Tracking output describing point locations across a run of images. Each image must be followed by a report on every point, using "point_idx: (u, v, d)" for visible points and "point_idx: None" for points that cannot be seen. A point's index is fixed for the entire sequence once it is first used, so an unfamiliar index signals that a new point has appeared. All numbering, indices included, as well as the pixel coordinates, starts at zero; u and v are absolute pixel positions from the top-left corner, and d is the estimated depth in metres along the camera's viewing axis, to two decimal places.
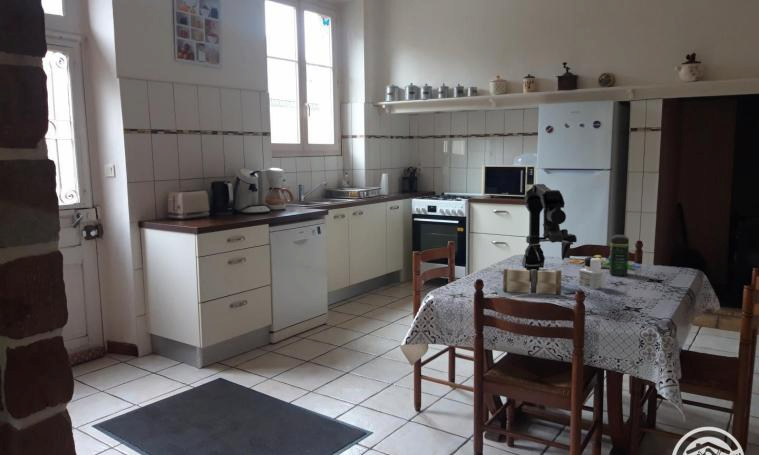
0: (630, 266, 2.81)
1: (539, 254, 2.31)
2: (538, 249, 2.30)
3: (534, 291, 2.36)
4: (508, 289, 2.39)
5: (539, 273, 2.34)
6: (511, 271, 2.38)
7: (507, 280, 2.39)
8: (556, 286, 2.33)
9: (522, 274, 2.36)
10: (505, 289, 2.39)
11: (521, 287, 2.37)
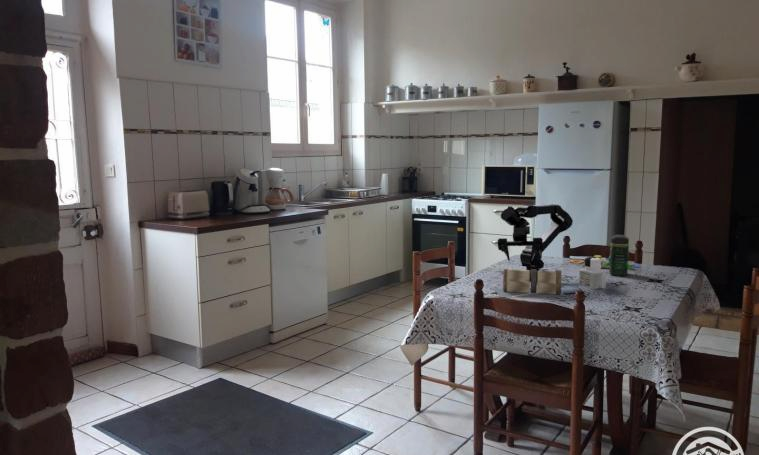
0: (630, 266, 2.81)
1: (507, 254, 2.46)
2: (506, 249, 2.47)
3: (534, 291, 2.36)
4: (508, 289, 2.39)
5: (539, 273, 2.34)
6: (511, 271, 2.38)
7: (507, 280, 2.39)
8: (556, 286, 2.33)
9: (522, 274, 2.36)
10: (505, 289, 2.39)
11: (521, 287, 2.37)
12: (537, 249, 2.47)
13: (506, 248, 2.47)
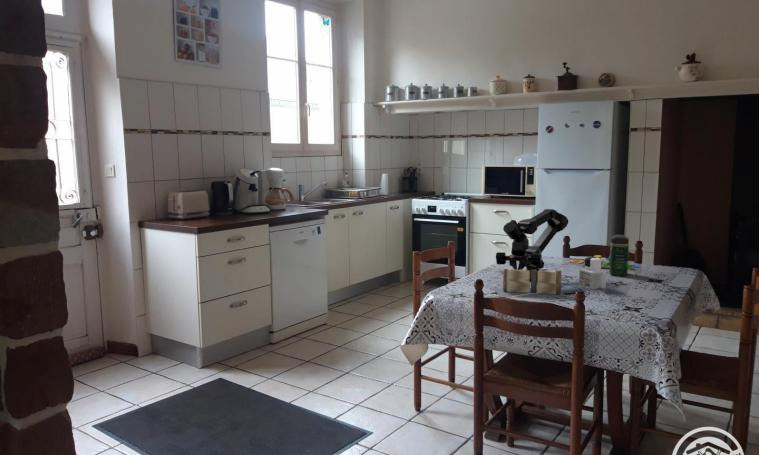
0: (630, 266, 2.81)
1: (515, 268, 2.44)
2: (514, 263, 2.45)
3: (534, 291, 2.36)
4: (508, 289, 2.39)
5: (539, 273, 2.34)
6: (511, 271, 2.38)
7: (507, 280, 2.39)
8: (556, 286, 2.33)
9: (522, 274, 2.36)
10: (505, 289, 2.39)
11: (521, 287, 2.37)
12: (524, 265, 2.47)
13: (514, 262, 2.45)
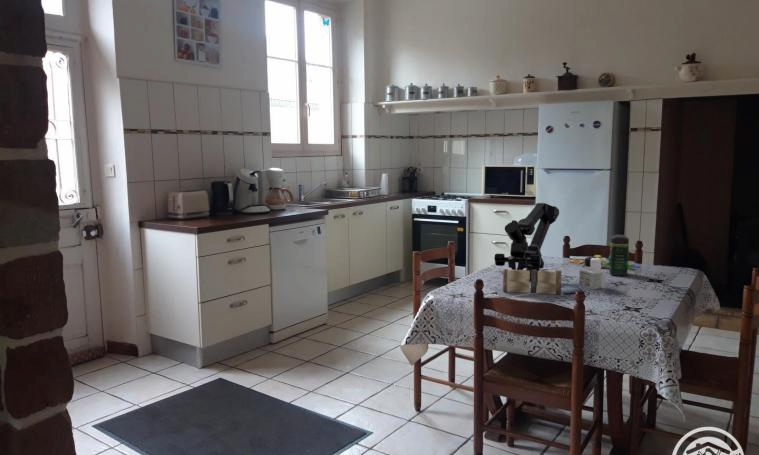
0: (630, 266, 2.81)
1: None
2: (513, 265, 2.41)
3: (534, 291, 2.36)
4: (508, 289, 2.39)
5: (539, 273, 2.34)
6: (511, 271, 2.37)
7: (507, 280, 2.38)
8: (556, 286, 2.33)
9: (522, 274, 2.36)
10: (505, 289, 2.39)
11: (521, 287, 2.37)
12: (524, 266, 2.43)
13: (513, 264, 2.41)
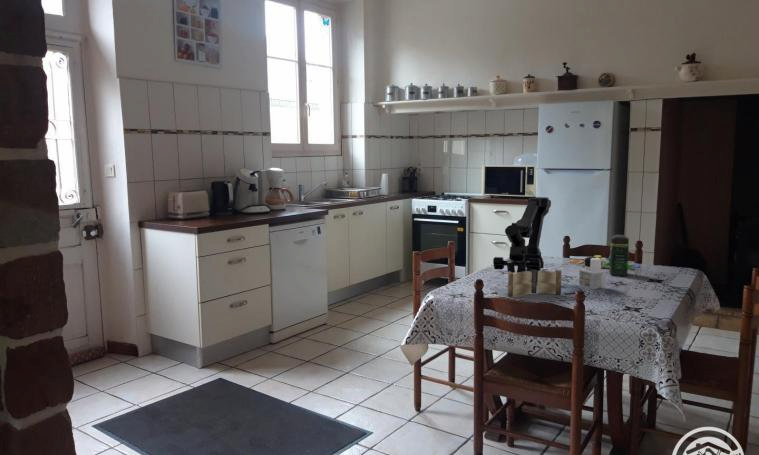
0: (630, 266, 2.81)
1: None
2: (512, 269, 2.36)
3: (536, 291, 2.36)
4: (514, 293, 2.32)
5: (539, 273, 2.34)
6: (516, 274, 2.32)
7: (513, 284, 2.32)
8: (556, 286, 2.33)
9: (525, 276, 2.33)
10: (512, 293, 2.32)
11: (525, 289, 2.34)
12: (523, 270, 2.38)
13: (512, 268, 2.36)
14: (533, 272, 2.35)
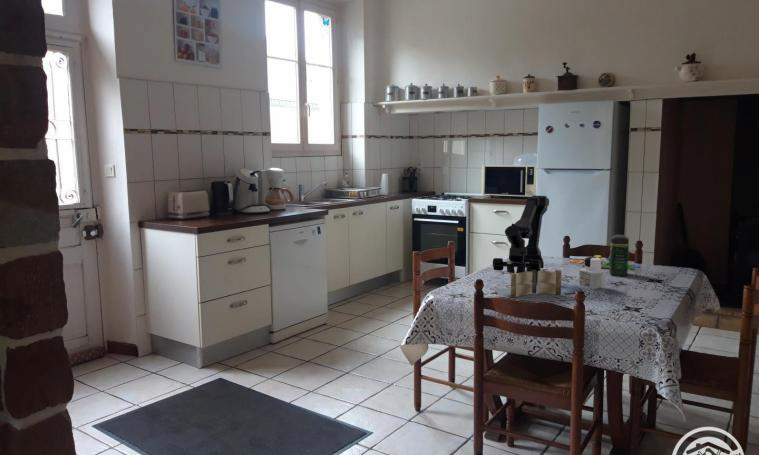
0: (630, 266, 2.81)
1: None
2: (512, 270, 2.35)
3: (536, 291, 2.36)
4: (516, 294, 2.31)
5: (539, 273, 2.34)
6: (519, 275, 2.31)
7: (516, 285, 2.30)
8: (556, 286, 2.33)
9: (527, 276, 2.33)
10: (515, 294, 2.30)
11: (526, 289, 2.33)
12: (522, 271, 2.37)
13: (512, 269, 2.35)
14: (533, 272, 2.35)
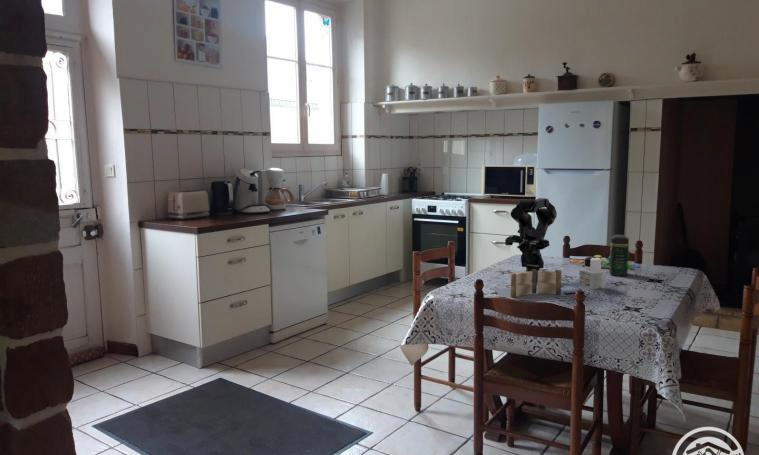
0: (629, 266, 2.81)
1: (528, 254, 2.43)
2: (527, 249, 2.44)
3: (536, 291, 2.36)
4: (516, 294, 2.31)
5: (539, 273, 2.34)
6: (519, 275, 2.31)
7: (516, 285, 2.30)
8: (556, 286, 2.33)
9: (527, 276, 2.33)
10: (515, 294, 2.30)
11: (526, 289, 2.33)
12: None
13: (527, 248, 2.44)
14: (533, 272, 2.35)
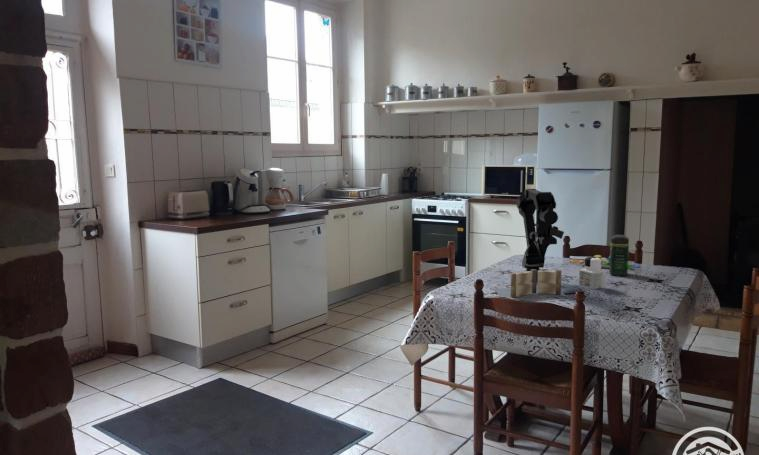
0: (629, 266, 2.81)
1: None
2: None
3: (536, 291, 2.36)
4: (516, 294, 2.31)
5: (539, 273, 2.34)
6: (519, 275, 2.31)
7: (516, 285, 2.30)
8: (556, 286, 2.33)
9: (527, 276, 2.33)
10: (515, 294, 2.30)
11: (526, 289, 2.33)
12: None
13: None
14: (533, 272, 2.35)
